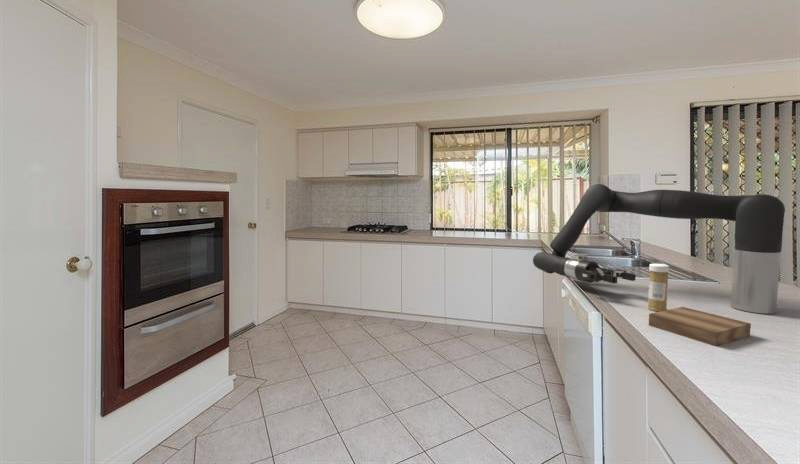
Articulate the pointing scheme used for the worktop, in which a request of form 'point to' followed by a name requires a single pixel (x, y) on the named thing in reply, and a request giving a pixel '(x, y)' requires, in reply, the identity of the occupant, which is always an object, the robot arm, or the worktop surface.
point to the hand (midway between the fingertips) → (625, 279)
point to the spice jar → (658, 287)
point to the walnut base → (700, 325)
